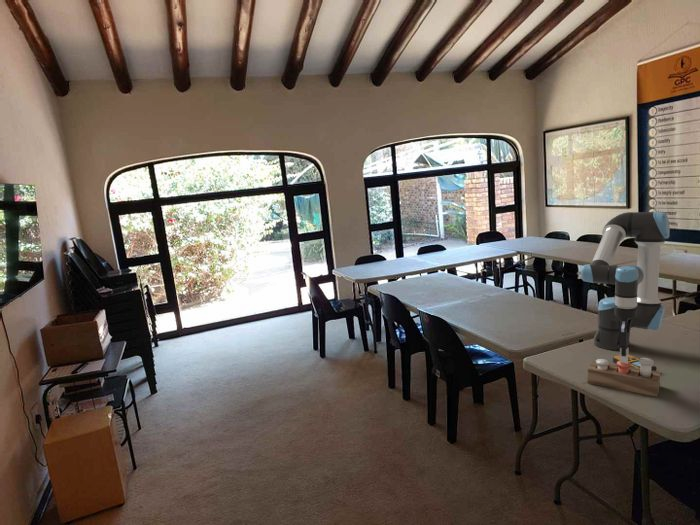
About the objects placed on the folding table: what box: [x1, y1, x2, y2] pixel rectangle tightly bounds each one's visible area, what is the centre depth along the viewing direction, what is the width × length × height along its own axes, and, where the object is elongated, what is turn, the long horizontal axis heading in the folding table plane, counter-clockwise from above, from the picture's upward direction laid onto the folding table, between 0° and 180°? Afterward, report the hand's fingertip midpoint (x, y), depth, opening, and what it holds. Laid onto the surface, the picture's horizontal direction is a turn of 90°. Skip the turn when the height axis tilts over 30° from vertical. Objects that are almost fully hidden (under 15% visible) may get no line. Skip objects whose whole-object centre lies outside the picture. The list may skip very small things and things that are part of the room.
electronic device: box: [612, 354, 657, 371], centre depth 200 cm, size 8×16×3 cm, turn 15°
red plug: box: [616, 361, 631, 374], centre depth 185 cm, size 5×5×8 cm
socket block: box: [587, 360, 661, 397], centre depth 185 cm, size 10×24×6 cm, turn 52°
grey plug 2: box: [638, 357, 654, 378], centre depth 180 cm, size 5×5×8 cm
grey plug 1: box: [595, 358, 610, 370], centre depth 189 cm, size 5×5×8 cm
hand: (623, 362), depth 184 cm, fingers closed
